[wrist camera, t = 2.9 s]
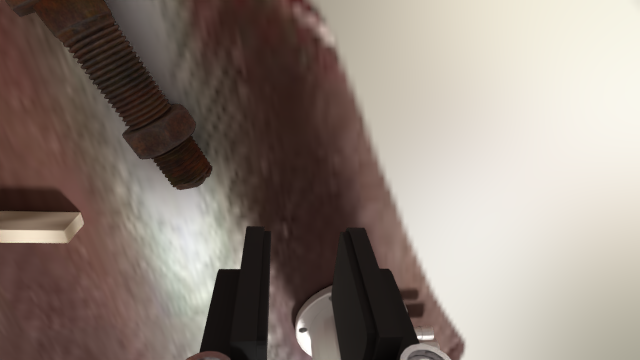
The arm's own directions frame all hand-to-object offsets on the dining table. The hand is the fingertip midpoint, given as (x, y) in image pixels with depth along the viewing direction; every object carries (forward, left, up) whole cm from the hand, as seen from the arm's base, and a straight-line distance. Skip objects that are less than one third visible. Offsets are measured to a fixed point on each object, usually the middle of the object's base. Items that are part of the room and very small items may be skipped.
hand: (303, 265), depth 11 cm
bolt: (+11, -1, -18) cm, 21 cm away
